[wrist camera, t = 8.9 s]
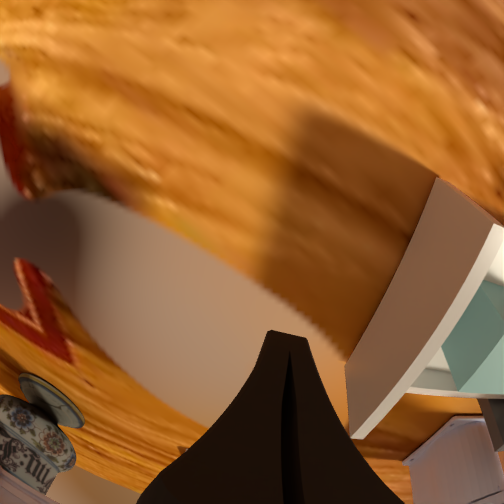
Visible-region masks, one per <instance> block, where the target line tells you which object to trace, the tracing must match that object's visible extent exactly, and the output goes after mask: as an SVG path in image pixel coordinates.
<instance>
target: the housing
mask: <svg viewBox="0 0 504 504" xmlns="http://www.w3.org/2000/svg"><path fill="white" fill-rule="evenodd" d="M477 400H478V402H479V405H480V408H481V411H482V414H483V417H484V420H485V423H486V426H487V429H488V432H489V435H490V438H491V441H492V445H493V448H494V452H499V451H504V399H486V398H477Z"/></svg>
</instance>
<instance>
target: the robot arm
mask: <svg viewBox="0 0 504 504" xmlns="http://www.w3.org/2000/svg"><path fill="white" fill-rule="evenodd" d="M402 463H403V465H409V469H410V477H411V485H412V494H413V503H414V504H504V474H503V470H502V466H501V463H500V459H499V456H498V452H494V448H493V445H492V441H491V438H490V435H489V432H488V429H487V426H486V423H485V420H484V417H483V416H454V417H452V418H451V419H450V420H449V421H448V422H447V423H446V424H445V425H444V426H443V427H442V428H441V429H440V430H438V431H437V432H436V433H435V434H434V435H433V436H432V437H431V438H430V439H429V440H427V441H426V442H425V443H424V444H423V445H422V446H421V447H419V448H418V449H417V450H416V451H415V452H413V453H412V454H411V455H410V456H409V457H407V458H406V459H405V460H404V461H403V462H402ZM0 504H59V503H58V502H56V501H54V500H52V499H50V498H48V497H47V496H45V495H43V494H42V493H40V492H38V491H36V490H35V489H33V488H31V487H30V486H28V485H27V484H25V483H23V482H22V481H20V480H19V479H17V478H16V477H14V476H13V475H11V474H10V473H8V472H7V471H5V470H4V469H2V467H1V466H0ZM136 504H405V503H404V502H403V501H402V500H401V499H400V498H399V497H398V496H397V495H395V494H394V493H393V492H392V491H391V490H390V489H389V488H388V487H387V486H386V485H385V484H384V482H383V481H382V480H381V479H380V478H379V477H378V476H377V474H376V473H375V472H374V471H373V470H372V468H371V467H370V466H369V464H368V463H367V462H366V460H365V459H364V458H363V456H362V455H361V454H360V452H359V451H358V450H357V448H356V447H355V445H354V443H353V442H352V440H351V439H350V437H349V436H348V434H347V432H346V431H345V429H344V427H343V425H342V424H341V422H340V420H339V418H338V416H337V414H336V412H335V410H334V408H333V406H332V404H331V402H330V400H329V398H328V395H327V393H326V391H325V388H324V386H323V383H322V381H321V378H320V376H319V373H318V370H317V368H316V365H315V362H314V359H313V356H312V353H311V351H310V347H309V343H308V340H307V339H306V338H304V337H300V336H295V335H291V334H287V333H282V332H278V331H274V330H270V331H268V332H267V334H266V337H265V340H264V342H263V345H262V348H261V351H260V354H259V357H258V359H257V362H256V365H255V367H254V369H253V371H252V373H251V374H250V376H249V378H248V379H247V381H246V382H245V384H244V385H243V387H242V388H241V390H240V392H239V393H238V395H237V396H236V397H235V399H234V400H233V401H232V403H231V404H230V405H229V406H228V408H227V409H226V410H225V411H224V413H223V414H222V415H221V416H220V417H219V418H218V420H217V421H216V422H215V423H214V424H213V425H212V426H211V427H210V428H209V429H208V431H207V432H206V433H205V434H204V435H203V436H202V437H201V438H200V439H198V440H197V441H196V442H195V443H194V444H193V445H192V446H191V447H190V448H189V449H188V450H187V451H186V452H185V453H183V454H182V455H181V456H180V457H179V458H177V459H176V460H175V461H174V462H172V463H171V464H170V465H169V466H167V467H166V468H165V469H163V470H162V471H161V472H160V473H159V474H158V475H157V477H156V478H155V479H154V480H153V481H152V482H151V483H150V484H149V486H148V487H147V488H146V489H145V490H144V492H143V493H142V494H141V496H140V497H139V499H138V501H137V503H136Z"/></svg>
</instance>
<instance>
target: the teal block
mask: <svg viewBox="0 0 504 504" xmlns="http://www.w3.org/2000/svg"><path fill="white" fill-rule="evenodd" d="M441 348H442V351H443V353H444V356H445V358H446V361H447V363H448V366H449V369H450V371H451V374H452V377H453V380H454V382H455V385H456V388H457V391H458V392H464V393H480V394H504V287H503V286H500V285H497V284H494V283H491V282H489V281H486V280H483V281H482V283H481V284H480V286H479V288H478V290H477V291H476V293H475V295H474V296H473V298H472V300H471V301H470V303H469V305H468V306H467V308H466V310H465V311H464V313H463V314H462V316H461V317H460V319H459V321H458V322H457V324H456V325H455V327H454V328H453V330H452V331H451V333H450V334H449V336H448V337H447V338H446V340H445V341H444V343H443V344H442V346H441Z"/></svg>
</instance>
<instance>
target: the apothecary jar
mask: <svg viewBox="0 0 504 504" xmlns="http://www.w3.org/2000/svg"><path fill="white" fill-rule="evenodd" d="M19 382H20V384H21V385H20V388H21V390H22V392H23V393H24V395H25V397H26V399H27V400H28V401H29V403H27V402H26V401H24V400H21V399H19V398H17V397H14V396H11V395H0V466H1V467H2V469H4V470H5V471H7V472H8V473H10V474H11V475H13V476H14V477H16V478H17V479H19V480H20V481H22V482H23V483H25V484H27V485H28V486H30V487H31V488H33V489H35V490H36V491H38V492H40V493H42V494H43V495H46V493H47V491H48V489H49V487H50V485H51V484H52V482H53V480H54V479H55V477H56V475H57V474H58V473H59V472H65V471H68V470H70V469H71V468H73V466H74V465H75V462H76V453H75V450H74V448H73V446H72V444H71V442H70V441H69V439H68V438H67V436H66V435H65V434H64V432H63V431H62V430H61V429H60V428H59V427H58V425H57V424H60V425H63V426H68V427H71V428H81V427H83V426H84V423H85V421H84V417H83V415H82V414H81V412H80V411H79V409H78V408H77V407H76V406H75V405H74V404H73V403H72V402H71V401H70V400H69V399H68V398H67V397H66V396H65V395H63V394H62V393H61V392H60V391H58V390H57V389H56V388H55V387H53V386H52V385H50V384H49V383H47V382H46V381H44V380H42V379H40V378H38V377H36V376H34V375H32V374H29V373H22V374H20V376H19Z"/></svg>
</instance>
